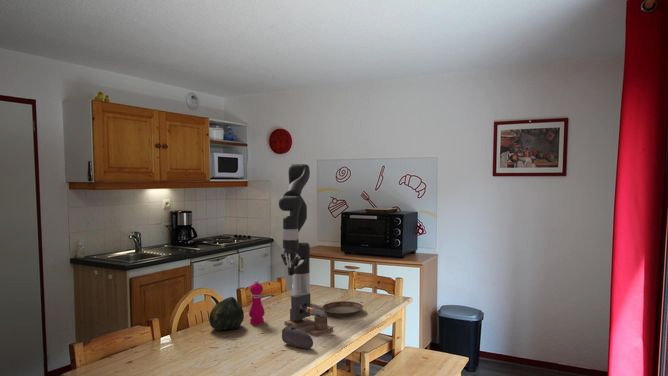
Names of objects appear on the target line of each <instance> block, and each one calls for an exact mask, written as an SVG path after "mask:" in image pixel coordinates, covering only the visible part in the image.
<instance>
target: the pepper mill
mask: <svg viewBox="0 0 668 376" xmlns="http://www.w3.org/2000/svg"><path fill="white" fill-rule="evenodd" d="M249 291H250V293H251V294H250V295H251V296H250V297H251V298H252V299H251V300H252V301H251V306H250V308H249V311H248V316H249V317H250V319H249V322H250V325H262V324H264V319H265V318H264V316H265V308H264V306H263V304H262V297H263V293H262V292H263V291H264V287H263V285H262V284H261V283H260V282H259V280H257V279H255V280H254V283H252V284H251V285H250V287H249Z"/></svg>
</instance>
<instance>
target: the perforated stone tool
mask: <svg viewBox="0 0 668 376" xmlns="http://www.w3.org/2000/svg"><path fill="white" fill-rule="evenodd" d="M281 339H282V341H283V342H284V343H285V344H287V345H289V346H291V347H296V348H300V349H311V348H312V347H313V345H314V341H313V338H312V337H311V334H309V333H306V332H304V331H302V330H300V329H297V328H294V327H290V326H287V325H286V326H284V327H283V329H282V330H281Z"/></svg>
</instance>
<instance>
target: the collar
mask: <svg viewBox="0 0 668 376" xmlns="http://www.w3.org/2000/svg"><path fill="white" fill-rule="evenodd" d="M290 304H291V305H290V307H291V308H290V309H291V319H293V320H299V319H302V318H308V317H311V316H312V315H310V314H308V313H305V312H302V311H300V305H301V304H302V305H305V306H309V307H312V306H311V304H312V303H311V292H310V293H302V294H297V295H293V296H292V295H291V296H290Z"/></svg>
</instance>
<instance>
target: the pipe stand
mask: <svg viewBox="0 0 668 376" xmlns="http://www.w3.org/2000/svg"><path fill="white" fill-rule="evenodd" d="M313 318H314V320H312V319H309V318H308V317H306V318H302V319H299V320H293V319H291V308H289V320H285V321H283V322H284V326H286V327H287V326H290V327H294V328H297V329H300V330H302V331H304V332H306V333H307V334H309V335H310V336H311V335H312V336H315V337H319V336H321V335H325V334H327V333H330V332H333V331H334V327H333V326H331V325H328V315H327V314H326V315H325V316H324V317H322V318H321V317H318V316H314V317H313Z"/></svg>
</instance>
